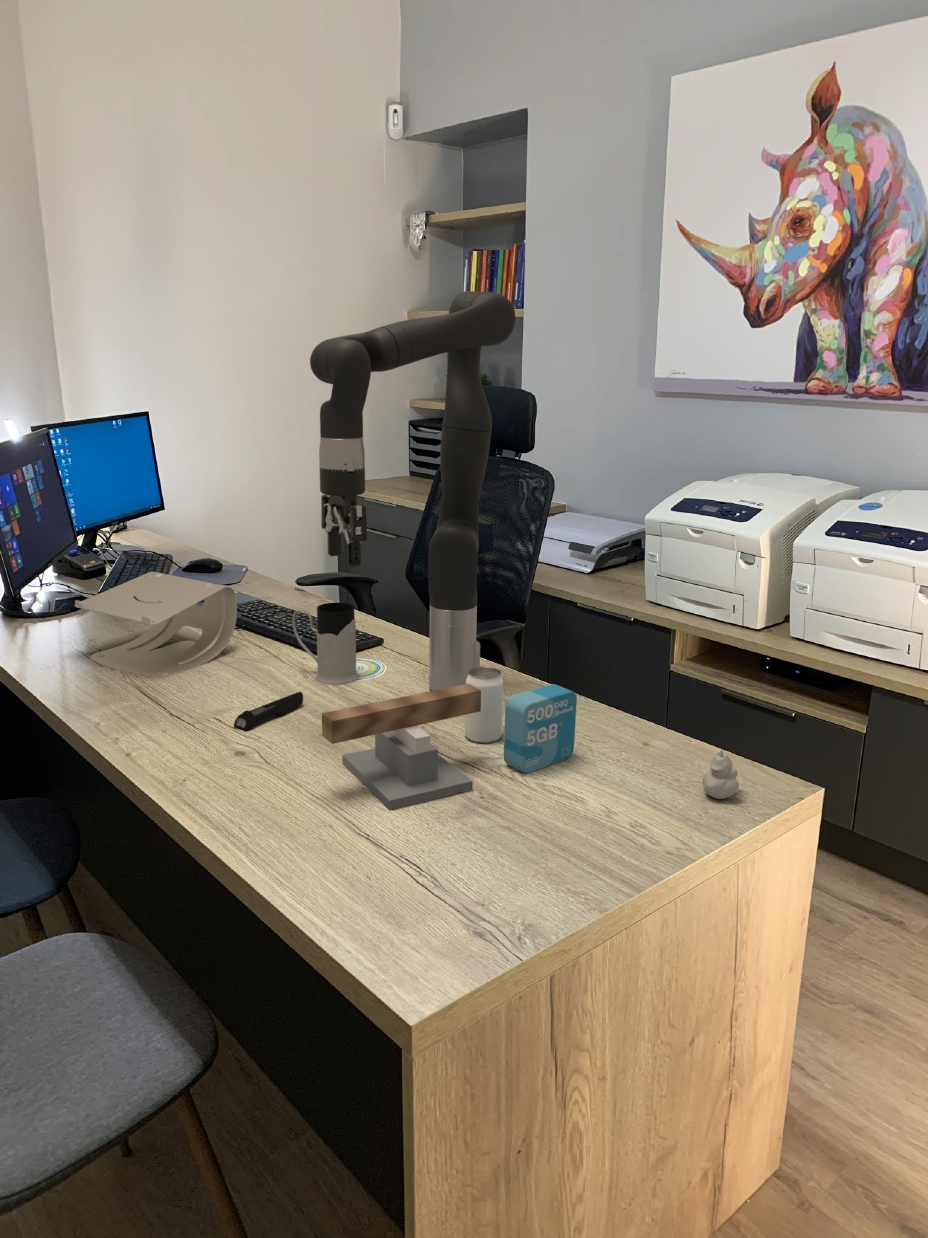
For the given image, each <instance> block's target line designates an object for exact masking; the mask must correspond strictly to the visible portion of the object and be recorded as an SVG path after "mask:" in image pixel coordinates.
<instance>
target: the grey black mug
mask: <svg viewBox="0 0 928 1238" xmlns="http://www.w3.org/2000/svg"><path fill="white" fill-rule="evenodd" d="M299 612H304V613H305V614H306V615H307V617H308V618H309V625H310V628H311V630H312V631H313V632H314V633H316V655H315V654H314V653H313V652H312V651H311V650H310V649H309V648H308V647H307V646H306V645H305V644H304V643H303V641H302V640H301V638H300V635H299V633H298V630H297V627H296V614H297V613H299ZM316 617H317V618H316V621H317V622H316V624H317V627H316V628H317V629H316V628H315V627H314V620H313V617H312V614H311V613H310V612H309V611H308V610H307V609H304V608H300V609H297V610H296V611H294V612H293V614H292V620H291V621H292V623H291V624H292V629H293V632H294V635H295V638H296V640H297V642H298V644H299V645H300V646H301V648H303V649H304V650H305V652H306V653H308V655H309V656H310V657H311V658H313V659H314V660H315V662H316V663H317V674H316V676H315V680H316V681H317V682H318V683H320V682H321V684H325V685H329V684H330V686H331V685H332V686H333V685H334V686H336V685H337V686H340V685H341V686H342V685H348V684H351V682H352V683H354V682H357V680H359V674H358V671H357V647H356V646H357V643H356V642H357V641H356V639H357V635H356V634H357V631H356V626H357V625H356V620H355V617H356V616H355V606H354V605H353V604H351V603H348V602H346V603H345V602H326V603H321V604H319V605H317V607H316Z"/></svg>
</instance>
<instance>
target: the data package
mask: <svg viewBox="0 0 928 1238" xmlns="http://www.w3.org/2000/svg"><path fill="white" fill-rule="evenodd" d="M577 699H578V696H577V693H576V692H575V691H573V690H570V689H568V688H565V687H563V686H560V685H558V684H555V683H552V684H549V685H545V686H541V687H537V688H535V689H531V690H528V691H527V690H526V691H524V692H520V693H517V694H514V695H511V696H510V697H508V699H507V700H506V703H505V705H504V706H505V708H504V733H503V761H504V763H505V764H507V765H509V766H510V767H513V768H514V769H516V770H519V771H520V772H522V773H525V774H530V773H531V772H534V771H537V770H541V769H542V768H546V767H548V766H550V765H554V764H557V763H559V762H563V761H565V760H569V758H570V757H571V756H573V753H574V750H575V738H576V737H575V736H576V721H577V720H576V719H577V718H576V717H577V704H578V703H577V702H578V701H577ZM545 766H546V767H545Z"/></svg>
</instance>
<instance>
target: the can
mask: <svg viewBox="0 0 928 1238" xmlns="http://www.w3.org/2000/svg"><path fill="white" fill-rule="evenodd" d="M468 673H469V675H468V677H467V679H466V684H470V685H472V686H474V687H476V688H478V689H479V690H481V711H480V712H476V713H471V714H466V715H464V736H465V737H466V739H468V741H470V742H473V743H476V744H477V743H478V744H491V743H494V742H497V741H499V739H501V738H502V731H503V729H502V728H503V702H504V701H503V699H504V681H503V680H504V679H503V677H502V671H501V670H500V669H498V668H495V667H493V666H492V667H490V666H480V667H475V668H472V669H470V670H469V671H468Z"/></svg>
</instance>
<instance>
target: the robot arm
mask: <svg viewBox="0 0 928 1238" xmlns="http://www.w3.org/2000/svg"><path fill="white" fill-rule="evenodd" d="M516 316H517V315H516V311H515V308H514V305H513V303H512V301H511V300H510V299H509V298H508V297H506V296H505V295H503V294H501V293H498V292H493V291H471V290H470V291H468V290H467V291H462V292H460V293H459V294H458V295H456V297H455V298H454V299H453V300H452V302H451V305H450V307H449V310H448V313H447V314H441V315H436V316H427V317H420V318H415V319H414V318H413V319H411V318H410V319H406V320H401V321H398V322H397V321H396V322H393V323H390V324H386V325H384V326H383V325H382V326H380V327H375V328H374V329H371V330H368V331H364V332H359V333H351V334H348V335H341V336H337V337H336V336H335V337H332V338H328V339H325V340H322V341H321V342H320V343H318V344H317V345H316V346H315V347H314V348H313V350H312V352H311V354H310V358H309V366H310V370H311V372H312V373H313V375H314V376H315V377H316V378H317V379H318V380H319V381H320V382H323V383H326V384H329V385H332V388H331V394H330V399H328V400H326V401H324V402H323V403H322V404H321V405H320V410H319V430H320V431H319V433H320V434H319V436H320V438H319V439H320V440H319V442H320V443H319V449H318V457H319V460H318V461H319V463H318V464H319V490H320V493H321V494H322V495H321V496H320V497H321V500H320V501H321V503H320V504H321V508H320V509H321V510H320V511H321V515H320V516H321V528H322V529H323V530H324V531H325V534H326V535H327V555H328V556H330V557H337V556H341V554H342V534H341V533H343V534H344V537H345V540H346V564H347V565H348V566H349V567H357V566H361V564H362V563H361V559H362V558H361V544H362V543H363V542H367V540H368V530H367V529H368V528H367V527H368V526H367V525H368V523H367V507H366V505H365V504H358V500H357V497H358V496H359V495H360V496H361V495H363V494H364V493H366V450H365V445H364V442H365V441H364V416H363V412H364V408H365V404H366V401H367V397H368V392H369V386H370V382H371V376H372V375H371V374H372V373H377V372H378V373H380V372H386V371H391V370H395V369H396V368H397V369H398V368H401V367H404V366H406V365H409V364H412V363H416V362H419V361H422V360H424V359H428V358H432V357H434V356H440V355H441V354H446V353H447V354H446V355H447V365H446V366H447V367H446V368H447V369H446V371H447V372H446V385H445V399H444V413H443V419H442V427H441V428H442V429H441V435H440V437H441V438H440V448H439V449H440V452H439V453H440V454H439V455H440V456H439V457H440V459H439V460H440V461H439V462H440V475H441V479H440V480H441V491H442V492H441V501H440V506H439V507H440V508H439V513H438V518H437V523H436V528H435V531H434V533H433V536H432V537H431V539H430V540H429V546H428V566H427V567H428V592H429V593H428V594H429V644H428V645H429V649H428V650H429V653H428V654H429V655H428V656H429V661H428V662H429V663H428V664H429V665H428V668H429V669H428V688H429V690H431V691H435V690H440V689H445V688H450V687H455V686H460V685H465V684H466V679H467V677H468V675H469V673H468V671H469V670H470V669H472V668H475V667H481V664H480V663H481V662H480V661H481V660H480V659H481V644H480V642H479V641H478V640H477V617H478V615H477V613H478V610H477V607H478V606H477V605H478V588H477V584H478V583H477V582H478V579H477V577H478V576H477V574H478V552H479V548H480V539H479V515H480V514H479V510H480V498H481V496H480V495H481V491H482V486H483V483H484V480H485V479H484V478H485V475H486V470H487V464H488V461H489V460H488V459H489V455H490V454H489V453H490V447H491V439H492V438H491V437H492V430H493V429H492V427H493V419H492V414H491V408H490V406H489V402H488V400H487V396H486V394H485V390H484V387H483V384H482V380H481V373H480V370H481V369H480V367H481V366H480V365H481V364H480V363H481V351H482V347H492V346H498V345H500V344H502V343H504V342H505V341H506V340H508V339H509V337H510V336H511V335H512V333H513V332H514V328H515V326H516V325H515V324H516Z"/></svg>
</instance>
